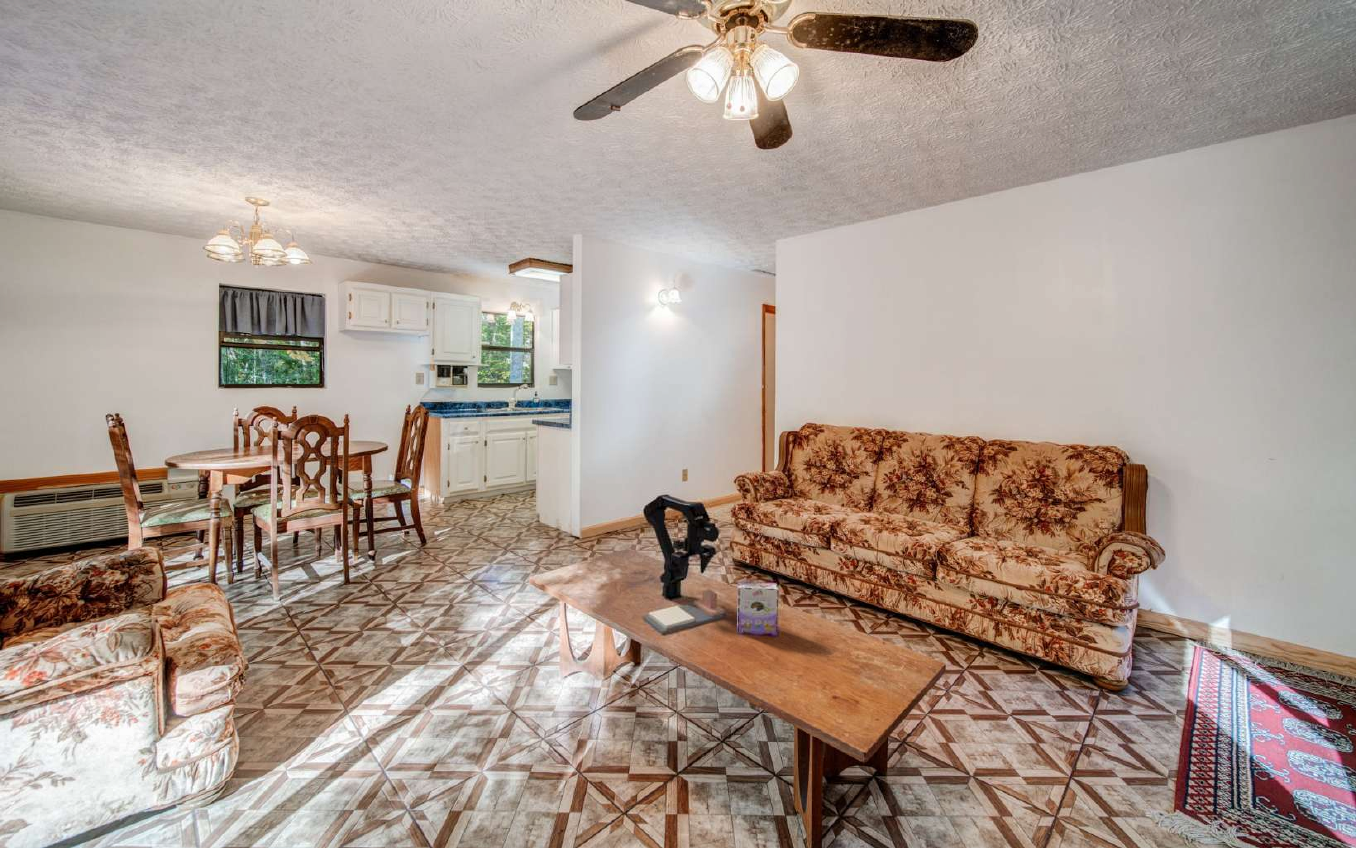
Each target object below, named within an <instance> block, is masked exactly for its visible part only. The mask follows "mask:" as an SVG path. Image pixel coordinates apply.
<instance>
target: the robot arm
mask: <svg viewBox="0 0 1356 848" xmlns="http://www.w3.org/2000/svg"><path fill="white" fill-rule="evenodd" d="M704 505H705V504H703V503H702V502H701V501H686V500H683V499H680V498H678V497H674V496H671V495H670V494H666V493H665V494H660V495H657V497H655V499H653V500H652V501H650V502H649V503H648V504H646V505H645V506H644V508H643V510H642V513H643V515H644V518H645V521H646V522H647V523H649V524H650V526H652V528H653V531H654V534H655V537H656V539H657V541H658V544H659V548H660V550H661V552H662V555H663V559H664V563H663V571H664V572H663V573H662V574H661V575H660V576H659V579H660V582H661V583H662V584H663V585H662V593H661V596H662V597H664V598H665V599H667V600H669V601H672V600H677V599H680V598H683V597H684V596H683V595H682V593H681V592H682V591H681V590H682V588H681V587H682V581H685V580H686V579H687V577H688V572H689V566H690V562H689V560H690V558H693V557H696V556H699V559H700V561H699V562H700V565H699V566H700V573H701V574H704V573H705V571H706V569H707V567H708V565H709V564H710V563H711V562H710V561H711V560H712V559H713V558H714V556H715V555H716V554H717V553H716V552H717V550H716V548H715V546H713V545H709V544H707V543H706V544H702V543H703V542H705V541H708V542H711V543H714V542H716V541H717V540H718V539H719V535H720V531H719V528H718V527H717V526H716V523H715V522H711V518H710V515H709V514H708V512H707V509H706V506H704ZM668 509H671V510H673V511H677V512H679V513H681V514H682V516H683V517H685V519H683V520H682V522H683V523H685V524H686V537H684V539H683V540H682V541H681V540H680V539H677V540H673V542H672V539H671V537H670V534H669V531H668V528H667V526H666V523H665V520H666V510H668ZM675 550H677V551H675Z"/></svg>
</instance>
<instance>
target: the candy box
mask: <svg viewBox="0 0 1356 848" xmlns="http://www.w3.org/2000/svg"><path fill="white" fill-rule="evenodd" d="M736 612H737V613H736V614H737V615H736V616H737V617H736V618H737V619H736V621H737V622H736V633H737V634H743V635H744V634H746V635H747V634H748V635H768V636H769V635H770V636H778V625H779V624H778V622H779V620H778V619H779V617H778V616H779V613H778V612H779V587H778V584H777V583H775V582H774V583H773V582H772V583H771V582H769V583H768V582H752V581H750V582H749V581H738V582H737V611H736Z"/></svg>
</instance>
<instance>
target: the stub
mask: <svg viewBox="0 0 1356 848" xmlns="http://www.w3.org/2000/svg"><path fill="white" fill-rule="evenodd" d="M693 603H694V605H695V606H697V607H698V608H700V609H701V610H703V611H705V612H706V613H708V614H709V615H711V616H715V615H719V614H722V615H723V614H725V613H726V612H725V611H726V610H725V609H724V608H723V607H721V606H719V605H718V593H717V592H715V591H713V590H711V589H709V588H708V589H706V590H703V591H702V599H698V600H694V601H693Z"/></svg>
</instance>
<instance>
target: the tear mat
mask: <svg viewBox="0 0 1356 848" xmlns="http://www.w3.org/2000/svg"><path fill="white" fill-rule="evenodd" d="M678 607H679V608H681V609H682V610H684V611H685V612H686V613H688V614H689V615H691V616H692V617H694V618H695V621H694V622H690V623H687V624H683V625H679V626H676V627H672V628H668V629H665V628H663V627H662V626H661V625H660V624H658V623H657V622H656V621H655V620H653V619H652V618H651V617H649V614H646V615H642V617H641V618H642V620H643V621H645V622H646V623H647V624H648V625H650V626H651V627H652V628H654V629H655V630H656V632H658V633H659V634H661V635H666V634H669V633H673V632H676V631H680V630H684V629H688V628H691V627H695V626H698V625H702V624H705V623H709V622H713V621H716V620H720V619H723V618H724V615H723V614H719V615H715V616H711V615H709V614H708V613H706V612H705V611H703V610H701V609H700V608H698V607H697V606H695V605H694V602H693V603H690V604H686V605H682V606H678Z"/></svg>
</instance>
